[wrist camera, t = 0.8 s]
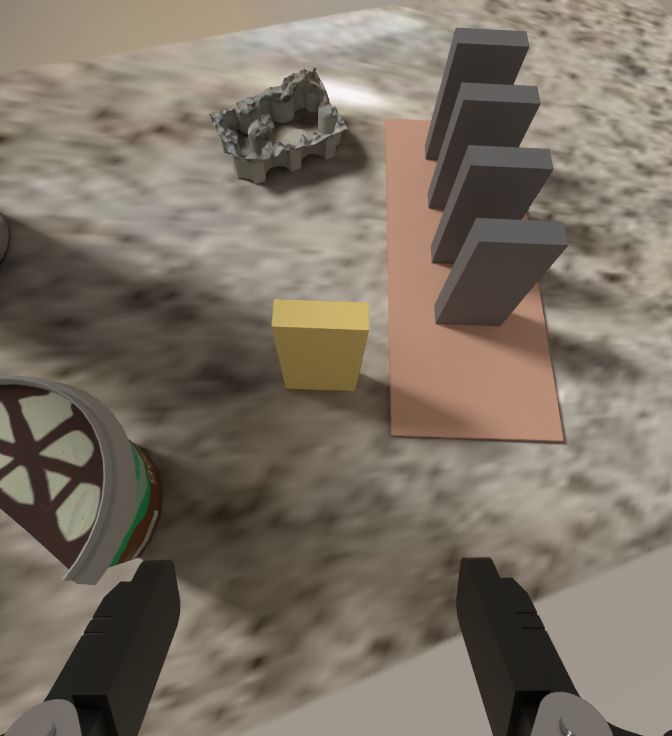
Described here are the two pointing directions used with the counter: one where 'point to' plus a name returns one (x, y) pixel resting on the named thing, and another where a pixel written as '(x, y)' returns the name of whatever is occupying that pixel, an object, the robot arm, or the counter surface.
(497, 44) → the charcoal domino
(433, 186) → the charcoal domino
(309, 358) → the ochre domino
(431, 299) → the terracotta mat
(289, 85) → the egg carton
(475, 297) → the charcoal domino
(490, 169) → the charcoal domino
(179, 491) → the counter surface
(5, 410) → the food container
